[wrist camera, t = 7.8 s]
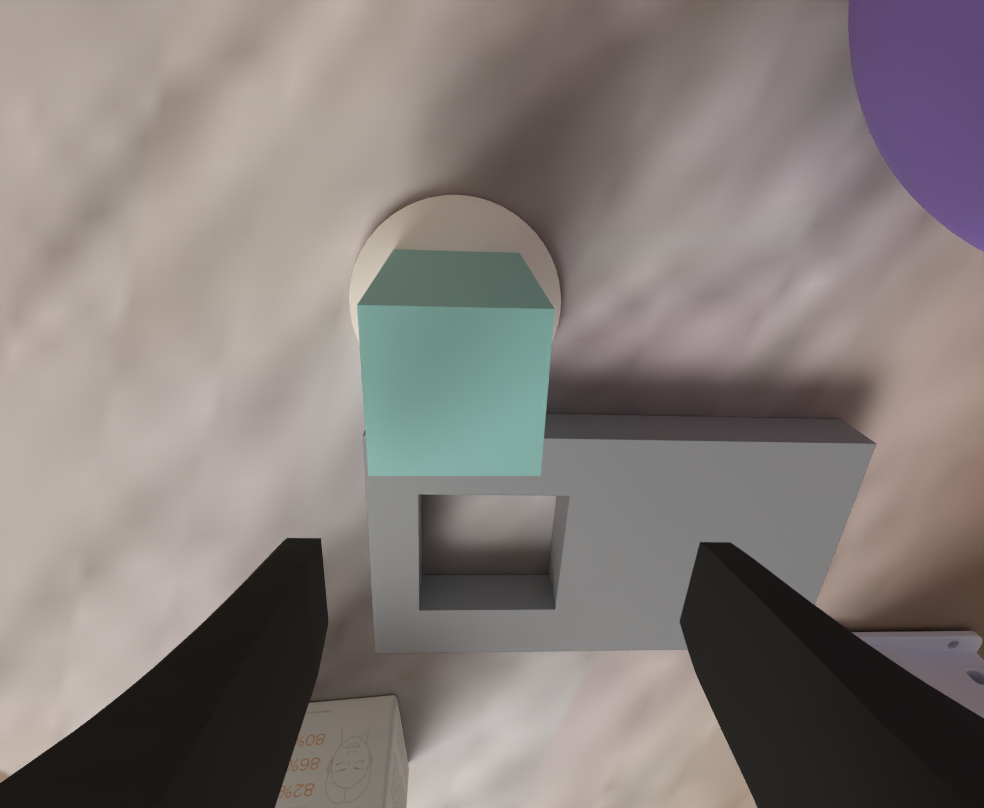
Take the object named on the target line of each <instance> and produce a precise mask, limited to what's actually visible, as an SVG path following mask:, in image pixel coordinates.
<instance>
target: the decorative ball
mask: <svg viewBox="0 0 984 808" xmlns="http://www.w3.org/2000/svg"><path fill="white" fill-rule="evenodd" d="M848 28H849V43H850V53H851V62H852V71H853V76H854V80H855V85H856V90H857V94H858V98H859V101H860V105H861V108H862V111H863V114H864V116H865V119H866V122H867V125H868V128H869V130H870V133H871V135H872V137H873V139H874V141H875V143H876V145H877V147H878V149H879V151H880V153H881V155H882V156H883V158H884V160H885V161H886V163H887V164H888V166H889V168H890V169H891V171H892V172H893V173H894V175H895V176H896V177H897V179H898V180H899V182H900V183H901V184H902V185H903V186H904V188H905V189H906V190H907V191H908V192H909V194H910V195H911V196H912V197H913V198H914V199H915V200H916V201H917V202H918V203H919V204H920V205H921V206H922V207H923V208H924V209H925V210H926V211H927V212H928V213H930V214H931V215H932V216H933V217H934V218H935V219H936V220H938V221H939V222H940V223H941V224H943V225H944V226H945V227H946V228H947V229H949V230H950V231H951V232H953V233H954V234H956V235H957V236H959V237H960V238H962V239H963V240H965V241H966V242H968V243H969V244H971V245H973V246H974V247H976V248H978V249H980V250H981V251H983V252H984V0H849V20H848Z"/></svg>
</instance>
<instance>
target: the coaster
mask: <svg viewBox="0 0 984 808" xmlns="http://www.w3.org/2000/svg"><path fill="white" fill-rule="evenodd" d="M393 249H399V250H436V251H472V252H509V253H520V254H521V256H522V258H523V259H524V261H525V262H526V264H527V266H528V267H529V269H530V270H531V272H532V274H533V275H534V277H535V278H536V280H537V282H538V283H539V285H540V286H541V288H542V289H543V291H544V293H545V294H546V296H547V297H548V299H549V301H550V302H551V304H552V305H553V307H554V309H555V312H554V324H553V336H552V341H553V339H554V337H555V334H556V331H557V327H558V324H559V318H560V312H561V292H560V283H559V279H558V275H557V271H556V268H555V265H554V263H553V260H552V257H551V256H550V254H549V252H548V250H547V248H546V246H545V245H544V243H543V242H542V241H541V239H540V238H539V237H538V235H537V234H536V233H535V232H534V231H533V230H532V229H531V228H530V227H529V226H528V224H527V223H526V222H524V221H523V220H522V219H521V218H519V217H518V216H517V215H516V214H514V213H513V212H511V211H509V210H508V209H506V208H504V207H503V206H501V205H498V204H496V203H494V202H491V201H489V200H486V199H482V198H478V197H474V196H467V195H441V196H435V197H429V198H426V199H423V200H419V201H416V202H414V203H412V204H410V205H408V206H406V207H403V208H402V209H400V210H399V211H397V212H396V213H394V214H393V215H391V216H390V217H389V218H388V219H387V220H385V221H384V222H383V223H382V224H381V225H380V226H379V227H378V228H377V229H376V230H375V231H374V233H373V234H372V235H371V236H370V237H369V239H368V240H367V242H366V243H365V245H364V247H363V248H362V250H361V252H360V254H359V256H358V258H357V261H356V263H355V266H354V270H353V273H352V277H351V283H350V290H349V306H350V313H351V320H352V323H353V327H354V331H355V333H356V336H357V338H358V341H359V327H358V312H357V304H358V303H359V301H360V300H361V298H362V297H363V295H364V294H365V292H366V291H367V289H368V287H369V286H370V284H371V283H372V281H373V280H374V278H375V277H376V275H377V274H378V272H379V271H380V269H381V268H382V266H383V265H384V263H385V262H386V260H387V259H388V257H389V255H390V254H391V252H392V251H393ZM359 343H360V342H359Z"/></svg>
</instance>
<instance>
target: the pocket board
mask: <svg viewBox="0 0 984 808" xmlns="http://www.w3.org/2000/svg"><path fill="white" fill-rule="evenodd" d="M363 443H364V462H365V481H366V499H367V518H368V536H369V555H370V574H371V592H372V611H373V630H374V648H375V654H380V653H459V652H538V651H617V650H688V648H687V645H686V642H685V639H684V635H683V632H682V629H681V625H680V622H679V621H680V617H681V613H682V610H683V606H684V602H685V598H686V594H687V590H688V586H689V582H690V579H691V575H692V571H693V567H694V563H695V559H696V555H697V551H698V547H699V544H700V542H731V543H732V544H734V545H735V546H737V547H738V548H739V549H741V550H742V551H744V552H745V553H746V554H748V555H749V556H751V557H752V558H753V559H755V560H756V561H757V562H759V563H760V564H761V565H763V566H764V567H765V568H767V569H768V570H769V571H770V572H772V573H773V574H774V575H776V576H777V577H778V578H780V579H781V580H782V581H783V582H785V583H786V584H787V585H789V586H790V587H791V588H793V589H794V590H795V591H797V592H798V593H799V594H801V595H802V596H803V597H804V598H806V599H807V600H808V601H810V602H811V603H812V604H814V605H815V603H816V600H817V598H818V595H819V592H820V590H821V587H822V585H823V582H824V579H825V577H826V574H827V572H828V569H829V566H830V564H831V561H832V559H833V556H834V553H835V551H836V548H837V545H838V543H839V540H840V538H841V535H842V532H843V530H844V527H845V525H846V522H847V519H848V517H849V514H850V512H851V509H852V506H853V504H854V501H855V498H856V496H857V493H858V491H859V488H860V485H861V483H862V480H863V478H864V475H865V472H866V470H867V467H868V465H869V462H870V459H871V457H872V454H873V452H874V449H875V446H876V443H874V442H873V441H872V440H870V439H869V438H867V437H866V436H864V435H863V434H861V433H860V432H859V431H857V430H856V429H854V428H853V427H851V426H850V425H848V424H847V423H846V422H844V421H843V420H841V419H807V418H756V417H705V416H653V415H602V414H550V413H546V419H545V431H544V442H543V454H542V466H541V476H368V462H367V447H366V432H365V431H364V434H363ZM422 495H540V496H557V500H556V508H555V517H554V525H553V534H552V543H551V551H550V560H549V568H548V575H422Z"/></svg>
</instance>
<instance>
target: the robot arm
mask: <svg viewBox="0 0 984 808" xmlns="http://www.w3.org/2000/svg"><path fill="white" fill-rule="evenodd" d="M679 622H680V625H681V629H682V632H683V635H684V639H685V642H686V645H687V648H688V652H689V654H690V657H691V660H692V663H693V666H694V669H695V672H696V675H697V677H698V679H699V682H700V684H701V686H702V688H703V690H704V693H705V695H706V697H707V699H708V701H709V704H710V706H711V708H712V710H713V712H714V715H715V717H716V719H717V721H718V723H719V725H720V727H721V730H722V732H723V734H724V736H725V738H726V740H727V742H728V744H729V747H730V749H731V751H732V753H733V755H734V757H735V759H736V762H737V764H738V766H739V768H740V770H741V772H742V774H743V777H744V779H745V781H746V783H747V785H748V787H749V789H750V792H751V794H752V796H753V798H754V800H755V803H756V805H757V807H758V808H984V660H983V659H982V658H981V657H980V656H979V655H978V654H977V651H978V650H979V648H980V646H981V644H982V638H981V637H980V636H979V635H978V634H977V633H975V632H974V631H919V632H850V631H849V630H848V629H846V628H845V627H843V626H842V625H841V624H839V623H838V622H837V621H835V620H834V619H833V618H831V617H830V616H828V615H827V614H826V613H824V612H823V611H822V610H820V609H819V608H818V607H816V606H815V605H814V604H812V603H811V602H810V601H808V600H807V599H806V598H804V597H803V596H802V595H801V594H799V593H798V592H797V591H795V590H794V589H793V588H791V587H790V586H789V585H787V584H786V583H785V582H783V581H782V580H781V579H780V578H778V577H777V576H776V575H774V574H773V573H772V572H770V571H769V570H768V569H767V568H765V567H764V566H763V565H761V564H760V563H759V562H757V561H756V560H755V559H753V558H752V557H751V556H749V555H748V554H746V553H745V552H744V551H742V550H741V549H739V548H738V547H737V546H735V545H734V544H732V543H731V542H700V544H699V547H698V551H697V555H696V559H695V563H694V567H693V571H692V575H691V579H690V582H689V586H688V590H687V594H686V598H685V602H684V606H683V610H682V613H681V617H680V621H679ZM327 627H328V612H327V601H326V590H325V579H324V568H323V557H322V546H321V538H287V539H286V540H285V541H283V542H282V543H281V544H280V545H279V546H278V547H277V548H276V549H275V550H274V551H273V552H272V553H271V555H270V556H269V557H268V558H267V559H266V560H265V561H264V562H263V563H262V564H261V565H260V566H259V567H258V568H257V569H256V570H255V571H254V572H253V573H252V574H251V575H250V576H249V578H248V579H247V580H246V581H245V582H244V583H243V584H242V585H241V586H240V587H239V588H238V589H237V590H236V591H235V592H234V593H233V594H232V595H231V596H230V597H229V598H228V599H227V600H226V601H225V602H224V603H223V604H222V605H221V606H220V607H219V608H218V609H217V610H216V611H214V612H213V613H212V614H211V615H210V616H209V617H208V618H207V619H206V620H205V621H204V622H203V623H202V624H201V625H200V626H199V627H198V628H197V629H196V630H195V631H194V632H193V633H191V634H190V635H189V636H188V637H187V638H186V639H185V640H184V641H183V642H182V643H180V644H179V645H178V646H177V647H176V648H175V649H174V650H173V651H172V652H170V653H169V654H168V655H167V656H166V657H165V658H164V659H163V660H162V661H160V662H159V663H158V664H157V665H156V666H155V667H154V668H153V669H151V670H150V671H149V672H148V673H147V674H145V675H144V676H143V677H142V678H141V679H140V680H138V681H137V682H136V683H135V684H134V685H132V686H131V687H130V688H129V689H128V690H126V691H125V692H124V693H123V694H121V695H120V696H119V697H118V698H116V699H115V700H114V701H113V702H111V703H110V704H109V705H108V706H106V707H105V708H104V709H102V710H101V711H100V712H99V713H97V714H96V715H95V716H94V717H92V718H91V719H90V720H88V721H87V722H86V723H84V724H83V725H82V726H80V727H79V728H78V729H76V730H75V731H74V732H72V733H71V734H69V735H68V736H67V737H65V738H64V739H62V740H61V741H60V742H58V743H57V744H55V745H54V746H52V747H51V748H50V749H48V750H47V751H45V752H44V753H43V754H41V755H40V756H38V757H37V758H35V759H34V760H33V761H31V762H30V763H28V764H27V765H25V766H24V767H23V768H21V769H20V770H18V771H17V772H16V773H14V774H13V775H11V776H10V777H8V778H7V779H6V780H4V781H3V782H1V783H0V808H275V806H276V803H277V800H278V797H279V793H280V790H281V787H282V784H283V781H284V778H285V775H286V772H287V769H288V766H289V763H290V760H291V757H292V754H293V751H294V748H295V744H296V741H297V738H298V735H299V732H300V729H301V726H302V723H303V720H304V717H305V714H306V711H307V707H308V704H309V701H310V698H311V695H312V692H313V689H314V685H315V682H316V679H317V676H318V671H319V666H320V661H321V657H322V652H323V647H324V642H325V637H326V632H327Z"/></svg>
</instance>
